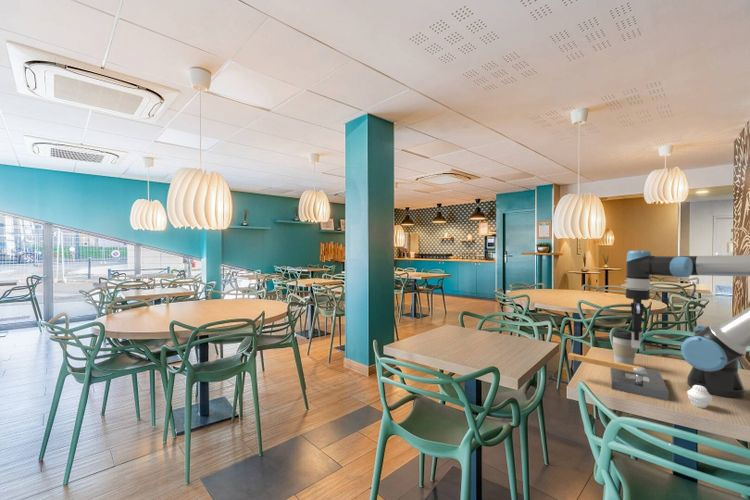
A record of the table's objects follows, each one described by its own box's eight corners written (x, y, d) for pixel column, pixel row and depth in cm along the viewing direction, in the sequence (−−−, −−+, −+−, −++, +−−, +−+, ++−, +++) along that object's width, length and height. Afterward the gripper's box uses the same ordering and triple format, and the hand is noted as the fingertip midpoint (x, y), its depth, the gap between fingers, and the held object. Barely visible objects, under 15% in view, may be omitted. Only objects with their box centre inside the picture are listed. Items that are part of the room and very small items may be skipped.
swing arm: (570, 356, 139) (570, 352, 139) (646, 372, 123) (646, 367, 123) (567, 359, 136) (567, 354, 136) (645, 375, 120) (645, 370, 120)
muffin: (692, 408, 112) (693, 387, 112) (682, 400, 117) (683, 380, 117) (716, 411, 110) (717, 390, 110) (705, 403, 115) (706, 382, 115)
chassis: (658, 378, 137) (659, 361, 137) (668, 400, 117) (668, 380, 117) (610, 369, 146) (610, 353, 146) (611, 388, 126) (612, 370, 126)
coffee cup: (606, 361, 156) (607, 329, 156) (624, 361, 157) (625, 328, 157) (622, 368, 147) (623, 334, 147) (641, 368, 148) (642, 334, 148)
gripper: (625, 286, 143) (623, 342, 144) (626, 289, 133) (625, 350, 133) (647, 288, 139) (646, 345, 140) (651, 291, 128) (649, 353, 129)
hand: (635, 347), depth 136 cm, fingers closed
